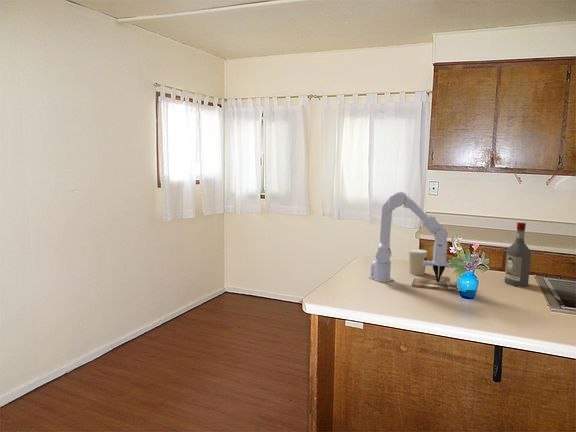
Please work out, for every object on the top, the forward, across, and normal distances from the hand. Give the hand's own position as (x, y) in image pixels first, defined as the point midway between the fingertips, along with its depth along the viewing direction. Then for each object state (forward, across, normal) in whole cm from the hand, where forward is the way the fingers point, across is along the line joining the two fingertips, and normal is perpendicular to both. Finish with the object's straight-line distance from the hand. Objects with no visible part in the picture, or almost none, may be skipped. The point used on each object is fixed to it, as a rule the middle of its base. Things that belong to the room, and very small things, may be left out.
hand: (437, 281), depth 207 cm
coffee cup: (+2, -11, +20) cm, 23 cm away
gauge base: (+2, +1, 0) cm, 2 cm away
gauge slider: (+1, +3, -2) cm, 4 cm away
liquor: (+2, +35, +20) cm, 41 cm away
